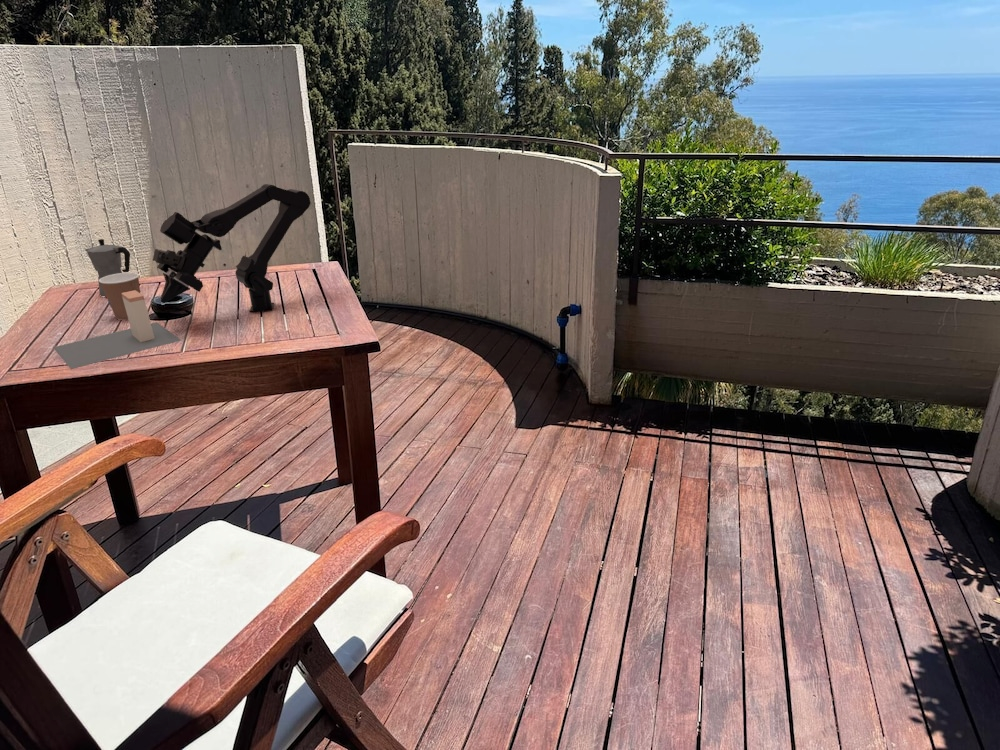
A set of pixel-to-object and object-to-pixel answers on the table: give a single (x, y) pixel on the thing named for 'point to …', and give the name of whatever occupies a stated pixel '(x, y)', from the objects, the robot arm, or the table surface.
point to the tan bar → (138, 315)
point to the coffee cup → (119, 291)
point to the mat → (111, 346)
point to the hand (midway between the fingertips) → (162, 302)
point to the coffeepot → (108, 260)
